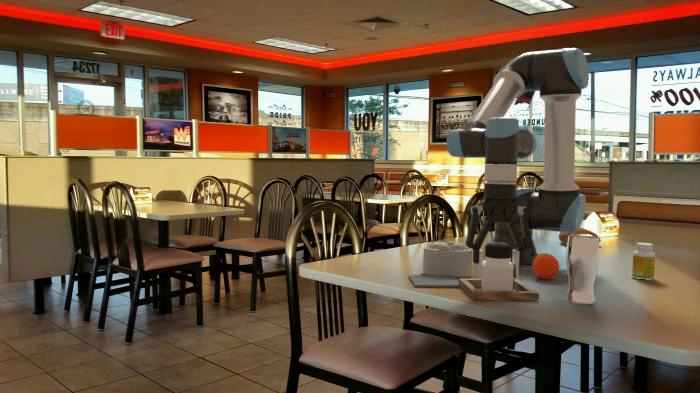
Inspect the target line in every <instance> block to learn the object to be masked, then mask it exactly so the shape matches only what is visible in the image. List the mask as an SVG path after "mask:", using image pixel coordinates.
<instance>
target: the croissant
mask: <svg viewBox="0 0 700 393" xmlns="http://www.w3.org/2000/svg"><path fill="white" fill-rule="evenodd" d="M568 235H591V236H597V237H599V243H600V242H601V238H600V236H599V235H598V234H596V233H595V232H594V231H592V230H588V229H586V228H583V227H581V226H580V228H579V229H578V230H577V231H575V232H562V233H561V232H559V234H558V239H559V241H560V243H562V244H564V245H566V246H567V241H568Z"/></svg>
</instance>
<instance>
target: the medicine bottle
mask: <svg viewBox="0 0 700 393" xmlns="http://www.w3.org/2000/svg"><path fill="white" fill-rule="evenodd" d="M484 247H485V248H484V259H483V272H482V278H481V279H482V281H481V287H480V288H481V291H514V287H513V286H514V279H515V278H514V266H513V264H512V262H510V261H511V246H510V245H508V244H506V243H499V242H489V243H486V244H485V246H484Z"/></svg>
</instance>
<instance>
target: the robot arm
mask: <svg viewBox="0 0 700 393" xmlns="http://www.w3.org/2000/svg"><path fill="white" fill-rule="evenodd" d="M589 75H590V74H589V65H588V61H587V58H586V55H585V54H584V51H582V50H581V49H580V48H578V47H577V48H576V47H571V48H569V47H567V48H566V47H564V48H556V49H549V50H540V51H529V52H525V53H522V54H520V55H517V57H514V58H513V59H511V60H510V61H509V62H507V63H506V64H505V65H503V66H502V68H500V69H499V71H498V72H497V73H496V75H495V76H494V78H493V80H492V86H491V88H490V89H489V90H488V92H487V94H486V95H485V96H484V98H483V99H482V100H481V102H480V104H479V105H478V107H477V108H476V110H475V111H474V112H473V113H472V116H471V117H470V118H469V120H468V121H467V122H466V124H465V125H464V127H463V128H457V129H456V128H455V129H452V130H450V131H449V132H448V134H447V137H446V149H447V152H448V154H449V155H450V156H451V157H453V158H463V159H467V158H468V159H469V158H472V159H474V158H475V159H476V158H477V159H478V158H479V159H480V158H483V159H484V176H483V178H484V181H485V182H486V183H484V184H483V186H484V187H483V201H482V203H481V205H477V206H474V205H472V206H470V207H469V210H470V218H469V219H470V220H469V223H468V230H467V234H466V239H465V243H464V245H465V246H466V248H470V249H471V250H472V264H476V268H475V269H476V272H475V273H476V274H475V276H476V277H477V279H482V272H483V260H484V251H483V250H482V249H481V247H482V246H483V244H484V241H485V240H486V237H487V235H488V233H489V230H490V229H491V226H493V224H494V236H493V239H492V242H499V243H506V244H508V245H510V246H511V261H510V262H512V264H513V266H514V279H520V278H519V277H520V272H519V271H520V265H533V261H534V259H535V257H536V255H537V254H538V252H537V248H536V245H535V242H534V241H535V240H534V238H533V237H534V236H533V234H534V232H533V231H535V230H536V231H537V230H538V231H548V232H549V231H550V232H558V233H562V232H575V231H577V230H578V229H579V228H580V227H581V226H582V223H583V221H584V218H585V215H586V209H587V198H586V195H585V194H582V193H580V186H579V185H578V184H577V183H576V182H575V166H576V164H575V163H576V162H575V159H576V158H575V157H576V113H577V112H576V110H577V109H576V108H577V107H576V103H577V100H578V99H579V98H580V97H581V96H582V90H584V89H586V88H588V86H589V80H590V76H589ZM527 92H539V98H540V99H541V100H542V101H543V102H544V144H543V146H544V151H543V153H544V154H543V155H544V156H543V158H544V159H543V163H544V164H543V165H544V166H543V182H542V184H540V186H538V192H537V191H536V189H535V188H534V187H524V188H523V187H521V188H517V184H515V183H516V182H517V181H518V159H520V160H523V159H527V158H528V157H530V156H532V155H533V154H534V152H535V151H536V149H537V146H538V142H537V137H536V135H535V134H534V133H533V132H532V131H531V130H529V129H526V128H523V127H520V125H519V122H520V121H519V119H518V118H516V117H507V116H505V115H506V114H507V112H508V111H509V109H510V108H511V106H512V104H513V103H514V102H515V100H516V99H518V98H520V97H521V96H522V95H523V94H524V93H527ZM482 211H483V213H484V215H485V218H484V220H483V223H482V224H481V228H480V230H479V232H478V234H477V236H476V232H477V226H478V222H479V216H481V213H482ZM475 237H476V239H475ZM492 242H491V243H492Z"/></svg>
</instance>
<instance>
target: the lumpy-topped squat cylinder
mask: <svg viewBox="0 0 700 393" xmlns="http://www.w3.org/2000/svg"><path fill="white" fill-rule="evenodd" d="M422 262H423V266H422V269H423V270H422V273H423V275H453V276H454V277H455V278H468V277H471V276H472V274H473V271H472V269H473V268H472V267H473V265H472V264H473V249H472V248H469V247H467V246H466V245H465V244H463V243H460V242H456V241H447V242H443V241H434V242H432V243H430V244H429V245H427V246H425V247H423V261H422Z"/></svg>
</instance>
